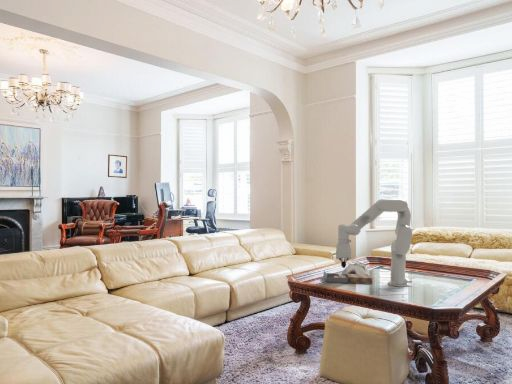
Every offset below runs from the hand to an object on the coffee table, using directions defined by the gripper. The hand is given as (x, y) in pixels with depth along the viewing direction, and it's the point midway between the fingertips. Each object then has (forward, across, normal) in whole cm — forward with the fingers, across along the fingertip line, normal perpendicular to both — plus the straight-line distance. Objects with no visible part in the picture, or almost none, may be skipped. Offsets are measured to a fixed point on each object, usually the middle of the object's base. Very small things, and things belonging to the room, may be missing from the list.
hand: (343, 267), depth 272 cm
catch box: (+9, +6, 0) cm, 11 cm away
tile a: (+6, 0, 0) cm, 6 cm away
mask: (+11, -16, -30) cm, 36 cm away
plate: (+10, -11, 0) cm, 15 cm away
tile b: (+7, +4, 0) cm, 8 cm away
